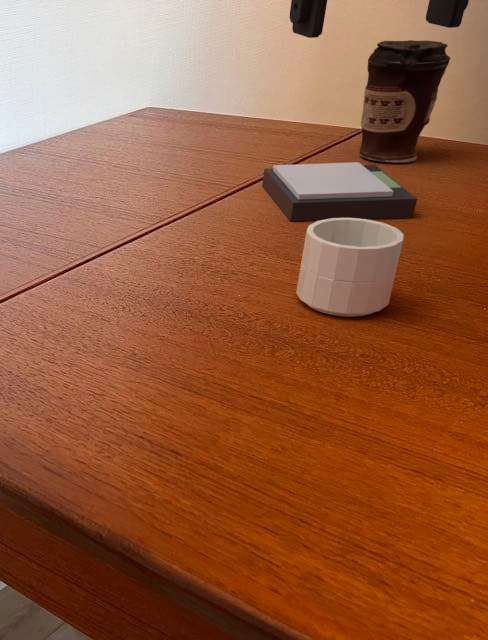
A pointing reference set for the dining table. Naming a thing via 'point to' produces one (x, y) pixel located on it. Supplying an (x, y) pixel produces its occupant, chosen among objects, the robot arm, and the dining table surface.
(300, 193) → the scale
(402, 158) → the coffee cup
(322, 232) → the white handleless cup
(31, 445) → the dining table surface
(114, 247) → the dining table surface
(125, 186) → the dining table surface
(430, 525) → the dining table surface
